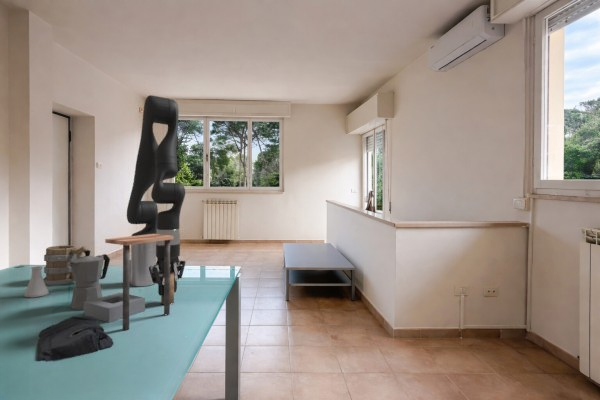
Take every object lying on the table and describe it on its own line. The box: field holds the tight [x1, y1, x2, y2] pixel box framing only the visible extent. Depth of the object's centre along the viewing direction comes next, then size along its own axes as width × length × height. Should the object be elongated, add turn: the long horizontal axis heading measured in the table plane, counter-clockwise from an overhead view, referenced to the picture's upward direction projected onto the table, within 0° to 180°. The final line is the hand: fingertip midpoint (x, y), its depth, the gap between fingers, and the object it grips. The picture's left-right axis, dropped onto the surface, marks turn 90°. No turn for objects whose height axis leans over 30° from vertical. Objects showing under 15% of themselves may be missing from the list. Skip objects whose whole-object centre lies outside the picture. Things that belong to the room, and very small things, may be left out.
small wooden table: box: [104, 234, 174, 331], centre depth 107 cm, size 9×16×24 cm, turn 152°
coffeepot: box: [68, 249, 111, 311], centre depth 120 cm, size 15×9×18 cm, turn 162°
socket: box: [83, 292, 146, 323], centre depth 113 cm, size 12×12×4 cm
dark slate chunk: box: [36, 316, 114, 363], centre depth 92 cm, size 15×22×5 cm
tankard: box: [43, 244, 89, 286], centre depth 148 cm, size 20×13×15 cm, turn 68°
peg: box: [160, 273, 175, 305], centre depth 123 cm, size 4×4×10 cm
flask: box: [23, 265, 50, 298], centre depth 130 cm, size 7×7×10 cm
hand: (167, 293), depth 123 cm, fingers closed on peg, 4 cm apart
